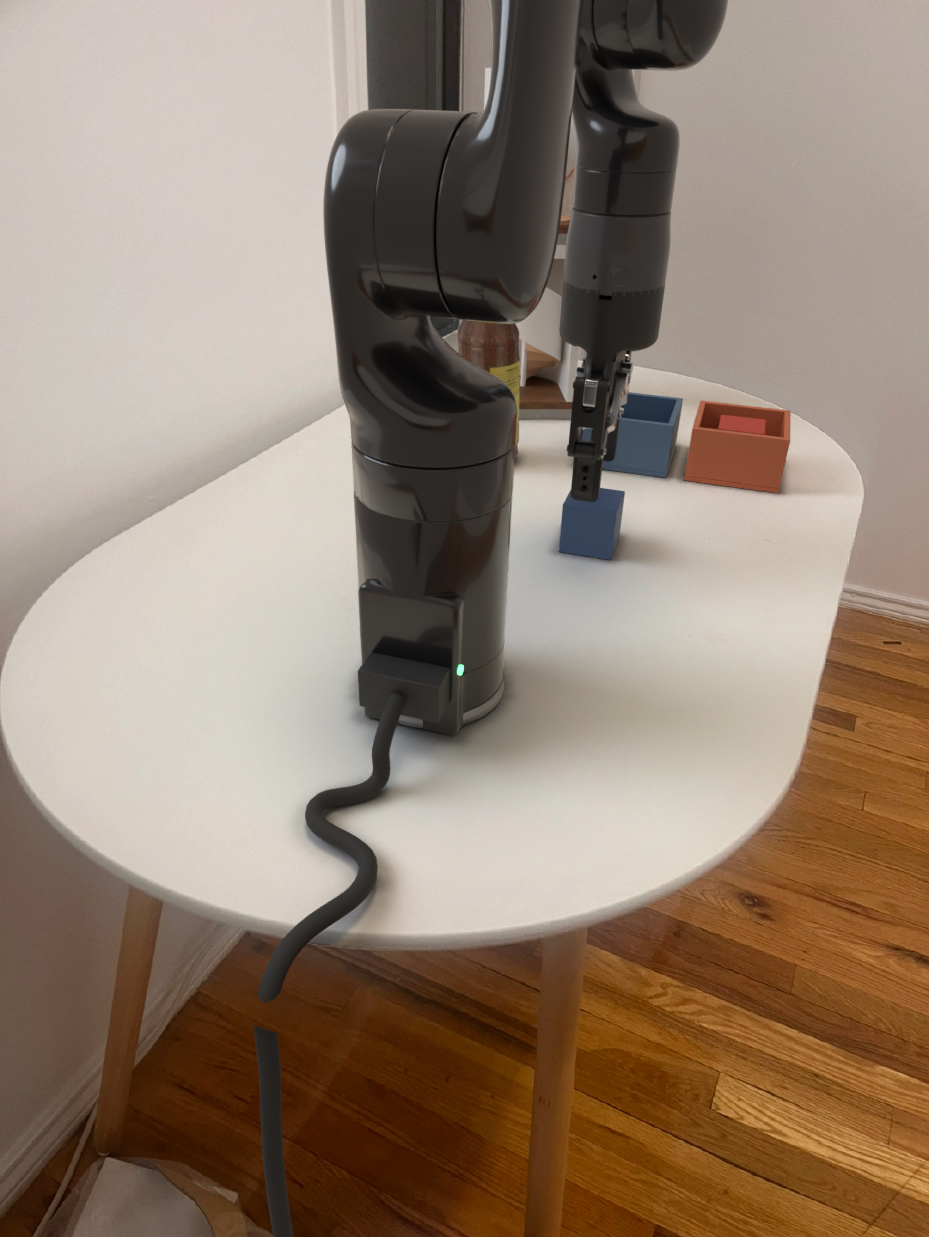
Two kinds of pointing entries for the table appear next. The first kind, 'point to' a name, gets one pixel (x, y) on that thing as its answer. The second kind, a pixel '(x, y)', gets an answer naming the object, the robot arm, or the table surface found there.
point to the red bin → (738, 448)
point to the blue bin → (645, 435)
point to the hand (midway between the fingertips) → (593, 478)
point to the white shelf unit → (548, 326)
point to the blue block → (592, 525)
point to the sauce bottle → (493, 353)
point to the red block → (742, 424)
